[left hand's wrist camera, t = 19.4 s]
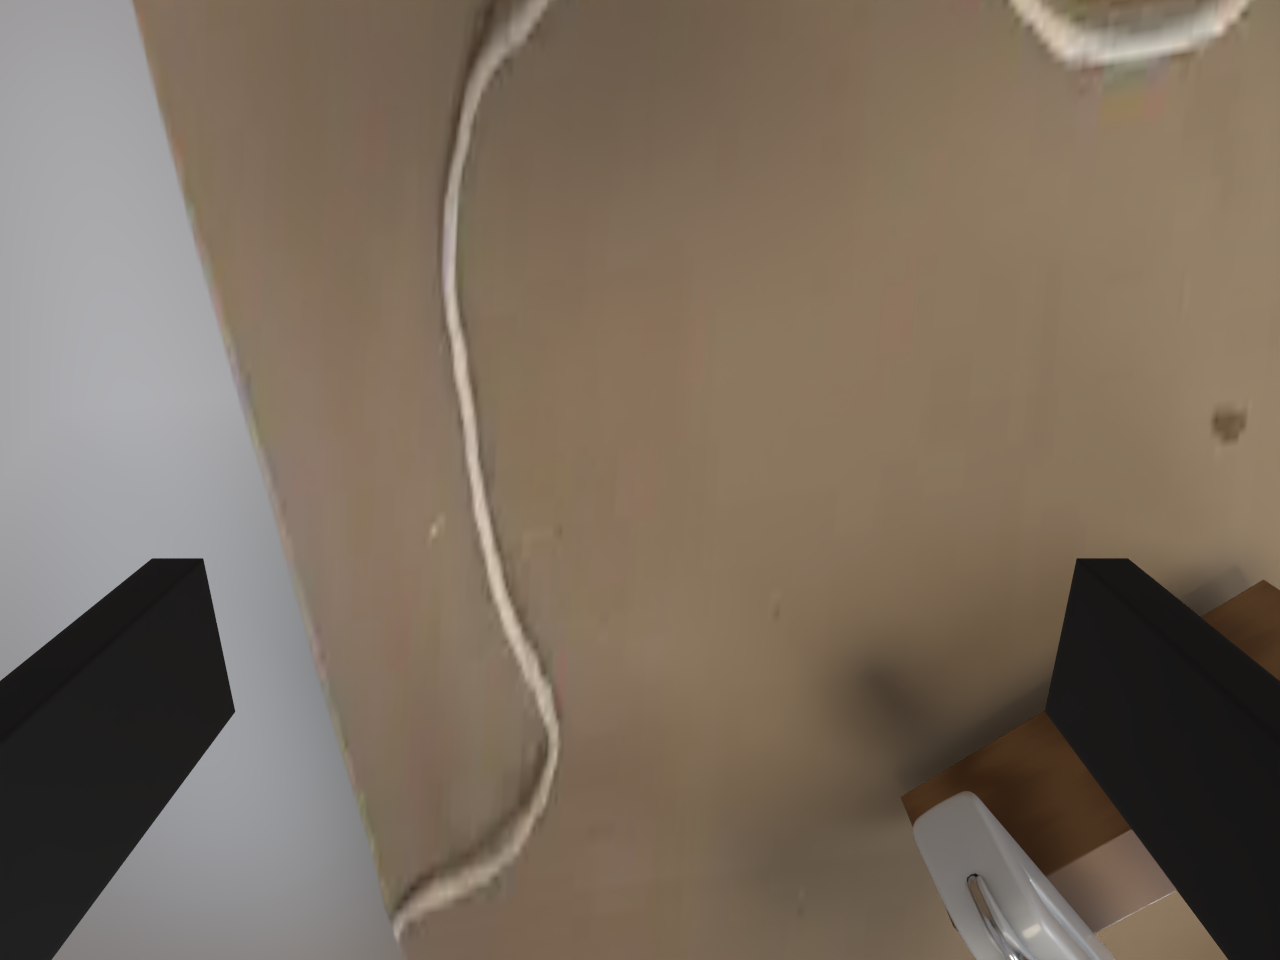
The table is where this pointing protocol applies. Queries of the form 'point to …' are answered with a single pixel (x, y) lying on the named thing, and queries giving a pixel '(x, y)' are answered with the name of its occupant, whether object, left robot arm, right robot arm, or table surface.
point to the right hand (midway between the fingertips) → (998, 845)
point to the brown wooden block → (1085, 791)
